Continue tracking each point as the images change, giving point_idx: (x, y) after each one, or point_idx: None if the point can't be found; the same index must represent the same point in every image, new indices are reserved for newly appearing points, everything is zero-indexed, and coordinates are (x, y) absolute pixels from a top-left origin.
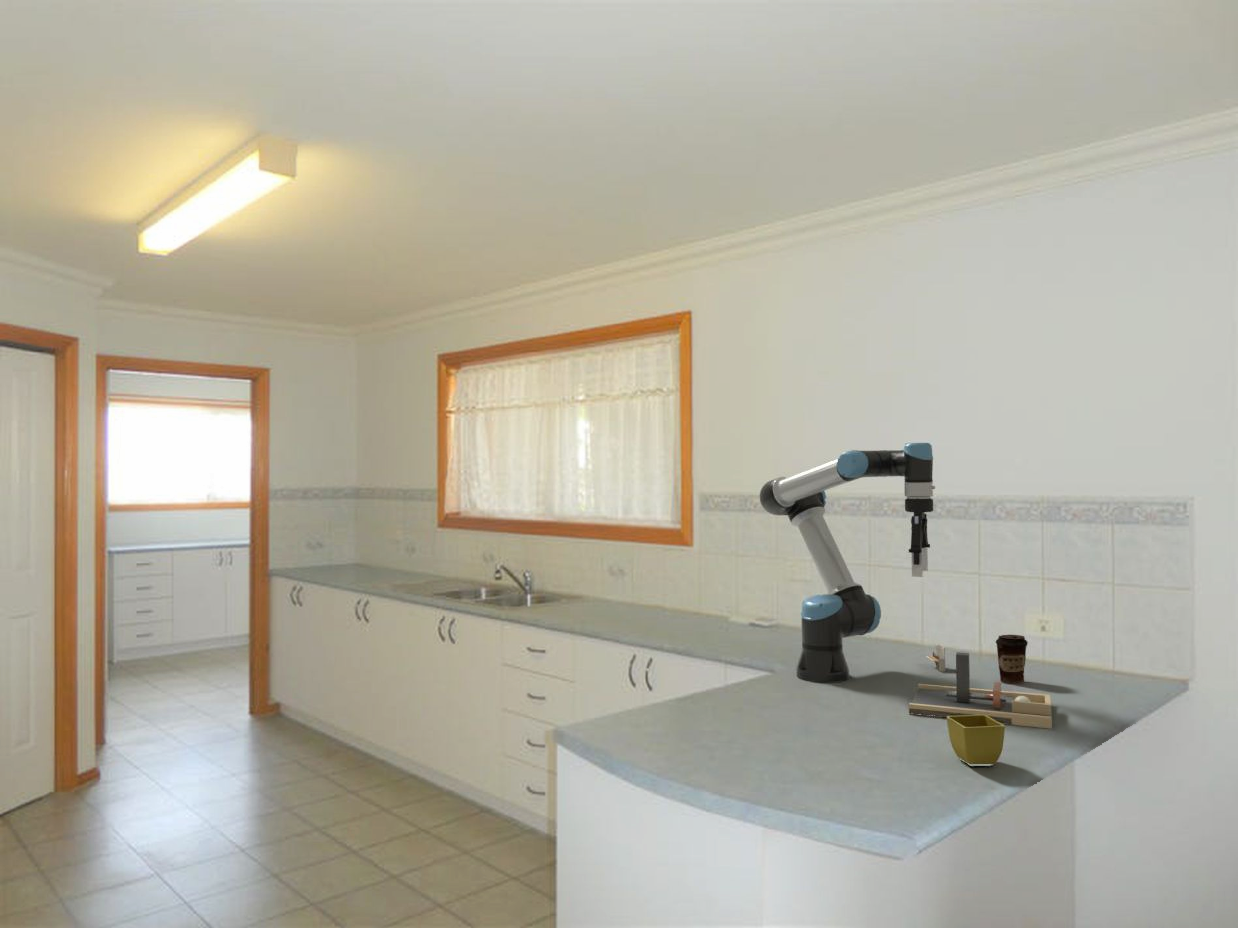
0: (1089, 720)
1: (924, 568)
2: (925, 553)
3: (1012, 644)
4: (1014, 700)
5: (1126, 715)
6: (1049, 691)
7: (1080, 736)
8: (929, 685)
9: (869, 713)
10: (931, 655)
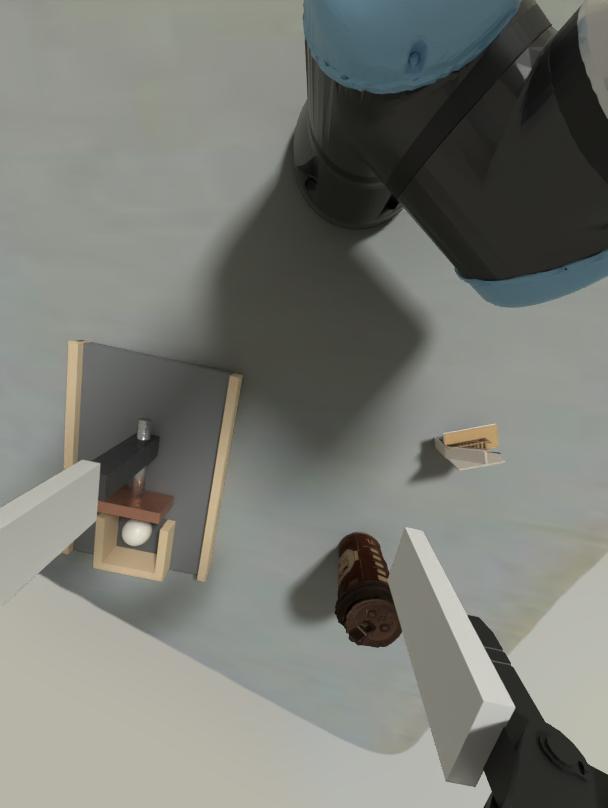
0: (133, 598)
1: (396, 576)
2: (431, 698)
3: (337, 607)
4: (134, 523)
5: (175, 647)
6: (297, 588)
7: (46, 567)
8: (228, 397)
9: (62, 263)
10: (495, 435)
